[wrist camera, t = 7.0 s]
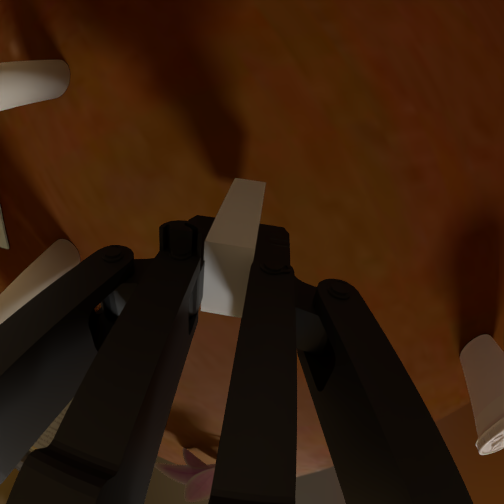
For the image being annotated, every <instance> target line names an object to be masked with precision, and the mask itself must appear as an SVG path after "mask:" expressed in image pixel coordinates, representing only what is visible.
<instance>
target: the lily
mask: <svg viewBox="0 0 504 504" xmlns="http://www.w3.org/2000/svg"><path fill="white" fill-rule="evenodd" d="M183 456H184V460H185V462H186V464H187V465H171V464H163V463H155V465H154V466H155V467H156V468H157V469H158V470H159V471H160V472H162V473H163V474H165V475H166V476H168V477H169V478H171V479H172V480H174V481H177V482H179V483H181V484H185V485H186V487H185V500H186V501H187V502H197V501H202V500H205V499H208V500H209V498H210V493H211V488H212V482H213V476H214V471H215V465H216V464H210V465H206V464H205V463H204V462H202V461H201V460H200V459H198V458H197V457H196V456H195V455H194V454H192V453H191V452H190V451H189V450H187V449H186V448H183Z"/></svg>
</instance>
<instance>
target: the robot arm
mask: <svg viewBox="0 0 504 504" xmlns="http://www.w3.org/2000/svg"><path fill="white" fill-rule="evenodd" d="M265 185H266V182H259V181H253V180H246V179H239V178H235V179H234V181H233V183H232V185H231V187H230V189H229V191H228V193H227V195H226V197H225V199H224V201H223V204H222V206H221V208H220V210H219V212H218V214H217V216H216V218H213V217H206V216H199V215H197V216H195V217H193V218H191V219H189V221H180V220H177V221H170V222H167V223H164V224H163V225H161V226H160V227H159V239H160V251H159V253H158V254H157V256H156V257H155V258H152V259H134V253H133V252H132V250H131V249H129V248H127V247H125V246H120V245H110V246H107V247H104V248H102V249H100V250H98V251H96V252H95V253H93V254H92V255H90V256H89V257H88V258H86V259H85V260H83V261H82V262H81V263H79V264H78V265H76V266H75V267H74V268H72V269H71V270H69V271H68V272H67V273H65V274H64V275H63V276H61V277H60V278H59V279H57V280H56V281H54V282H53V283H52V284H50V285H49V286H48V287H47V288H45V289H44V290H43V291H41V292H40V293H39V294H37V295H36V296H35V297H34V298H32V299H31V300H30V301H28V302H27V303H26V304H25V305H23V306H22V307H21V308H20V309H18V310H17V311H16V312H15V313H14V314H12V315H11V316H10V317H9V318H7V319H6V320H5V321H4V322H3V323H1V324H0V484H1V483H2V482H3V481H4V480H5V479H6V478H7V477H8V475H9V474H10V473H11V471H12V470H13V469H14V468H15V467H16V465H17V464H18V463H19V462H20V461H21V459H22V458H23V457H24V456H25V454H26V453H27V452H28V451H29V450H30V448H31V447H32V446H33V445H34V443H35V442H36V441H37V440H38V439H39V437H40V436H41V435H42V434H43V433H44V432H45V430H46V429H47V428H48V427H49V426H50V424H51V423H52V422H53V421H54V420H55V419H56V417H57V416H58V415H59V414H60V413H61V412H62V410H63V409H64V408H65V407H66V406H67V405H68V403H69V402H70V401H71V400H72V399H73V400H72V402H71V403H70V405H69V407H68V409H67V411H66V413H65V416H64V418H63V420H62V422H61V424H60V426H59V428H58V430H57V432H56V434H55V436H54V438H53V440H52V442H51V443H50V445H48V446H47V447H45V448H39V449H35V450H34V451H32V452H31V453H30V454H29V455H28V456H27V458H26V460H25V461H24V463H23V465H22V467H21V469H20V471H19V474H18V476H17V478H16V481H15V483H14V486H13V488H12V490H11V493H10V495H9V498H8V500H7V503H6V504H144V502H145V498H146V494H147V490H148V486H149V483H150V479H151V476H152V472H153V468H154V465H155V461H156V458H157V454H158V451H159V447H160V444H161V440H162V437H163V433H164V430H165V426H166V423H167V420H168V416H169V413H170V409H171V406H172V403H173V399H174V396H175V393H176V390H177V386H178V383H179V380H180V377H181V373H182V370H183V367H184V364H185V360H186V357H187V354H188V351H189V348H190V345H191V341H192V338H193V335H194V332H195V329H196V326H197V323H198V309H199V307H200V304H201V311H205V312H210V313H216V314H222V315H227V316H233V317H240V318H242V319H241V324H240V330H239V336H238V341H237V347H236V353H235V358H234V364H233V369H232V375H231V381H230V386H229V392H228V398H227V403H226V409H225V415H224V420H223V426H222V431H221V437H220V443H219V448H218V454H217V460H216V465H215V471H214V476H213V482H212V488H211V493H210V498H209V503H208V504H295V486H296V485H295V484H296V450H297V353H298V357H299V360H300V363H301V366H302V369H303V372H304V375H305V378H306V381H307V384H308V387H309V390H310V393H311V396H312V399H313V402H314V405H315V408H316V411H317V415H318V418H319V421H320V424H321V427H322V430H323V433H324V436H325V439H326V442H327V445H328V448H329V452H330V455H331V458H332V461H333V464H334V467H335V470H336V473H337V477H338V480H339V483H340V486H341V489H342V492H343V495H344V499H345V502H346V504H473V502H472V500H471V497H470V495H469V493H468V491H467V488H466V486H465V484H464V482H463V479H462V477H461V475H460V473H459V471H458V469H457V466H456V465H455V462H454V460H453V458H452V456H451V454H450V452H449V450H448V448H447V446H446V444H445V442H444V440H443V438H442V436H441V434H440V432H439V430H438V428H437V426H436V424H435V422H434V420H433V418H432V417H431V415H430V413H429V411H428V409H427V407H426V405H425V403H424V402H423V400H422V398H421V396H420V394H419V392H418V391H417V389H416V387H415V385H414V383H413V382H412V380H411V378H410V376H409V375H408V373H407V371H406V369H405V368H404V366H403V364H402V362H401V361H400V359H399V357H398V355H397V354H396V352H395V350H394V349H393V347H392V345H391V344H390V342H389V340H388V339H387V337H386V335H385V334H384V332H383V330H382V329H381V327H380V325H379V324H378V322H377V321H376V319H375V317H374V316H373V314H372V312H371V311H370V309H369V308H368V306H367V304H366V303H365V301H364V300H363V298H362V297H361V295H360V293H359V292H358V291H357V290H356V289H355V287H354V286H352V285H350V284H349V283H347V282H345V281H342V280H339V279H325V280H323V281H321V282H319V284H318V286H317V287H314V286H312V285H309V284H306V283H304V282H302V281H301V280H299V279H297V278H296V277H295V276H294V270H293V267H291V266H290V248H289V247H290V243H289V233H288V232H287V231H286V230H285V228H283V227H277V226H271V225H265V224H259V223H260V217H261V210H262V204H263V198H264V191H265ZM99 303H101V308H100V309H99V310H98V311H96V312H95V310H94V308H95V307H96V306H97V305H98V304H99Z"/></svg>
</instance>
